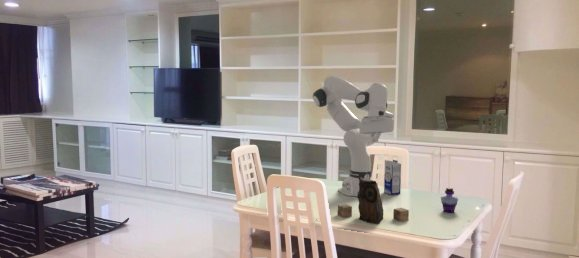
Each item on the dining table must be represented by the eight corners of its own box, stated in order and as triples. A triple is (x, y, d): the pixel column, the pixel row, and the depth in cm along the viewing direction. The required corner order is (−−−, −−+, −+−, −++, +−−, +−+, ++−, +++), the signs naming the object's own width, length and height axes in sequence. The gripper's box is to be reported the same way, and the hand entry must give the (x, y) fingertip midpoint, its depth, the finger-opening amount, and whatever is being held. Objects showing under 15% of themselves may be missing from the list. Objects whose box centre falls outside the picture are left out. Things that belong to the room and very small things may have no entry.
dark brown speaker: (379, 225, 211) (380, 182, 209) (352, 222, 215) (353, 180, 213) (384, 217, 222) (385, 177, 221) (358, 215, 227) (359, 175, 225)
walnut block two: (393, 219, 220) (393, 208, 220) (401, 217, 223) (401, 207, 222) (400, 221, 216) (400, 211, 216) (408, 220, 218) (408, 209, 218)
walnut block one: (337, 215, 227) (337, 205, 226) (345, 214, 229) (345, 203, 229) (343, 217, 222) (343, 207, 222) (351, 216, 225) (351, 206, 224)
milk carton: (383, 192, 274) (384, 159, 272) (393, 191, 277) (393, 158, 275) (391, 195, 268) (391, 161, 266) (400, 193, 270) (401, 160, 268)
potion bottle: (459, 210, 235) (460, 187, 234) (456, 214, 227) (456, 191, 226) (442, 208, 239) (442, 185, 238) (438, 212, 232) (438, 189, 231)
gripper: (357, 115, 237) (355, 141, 235) (387, 111, 221) (385, 139, 218) (366, 117, 241) (364, 143, 239) (396, 114, 224) (394, 142, 222)
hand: (374, 142), depth 228 cm, fingers closed
